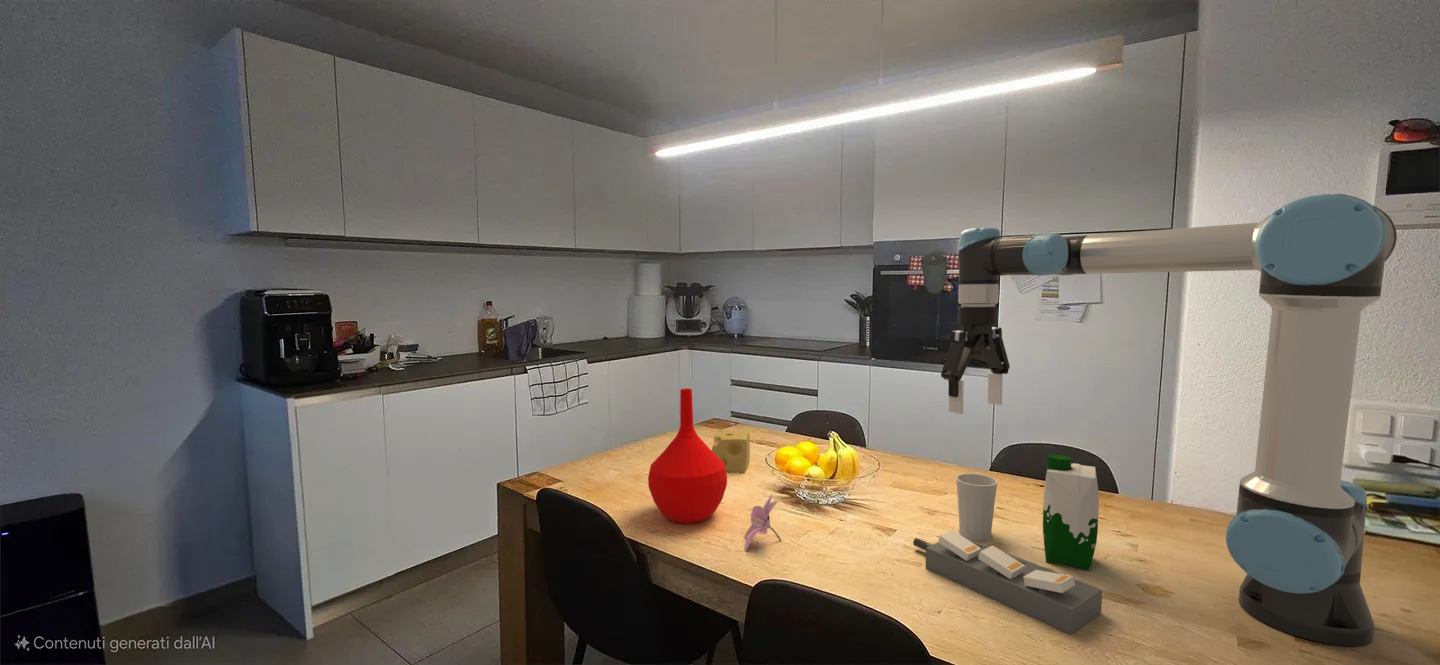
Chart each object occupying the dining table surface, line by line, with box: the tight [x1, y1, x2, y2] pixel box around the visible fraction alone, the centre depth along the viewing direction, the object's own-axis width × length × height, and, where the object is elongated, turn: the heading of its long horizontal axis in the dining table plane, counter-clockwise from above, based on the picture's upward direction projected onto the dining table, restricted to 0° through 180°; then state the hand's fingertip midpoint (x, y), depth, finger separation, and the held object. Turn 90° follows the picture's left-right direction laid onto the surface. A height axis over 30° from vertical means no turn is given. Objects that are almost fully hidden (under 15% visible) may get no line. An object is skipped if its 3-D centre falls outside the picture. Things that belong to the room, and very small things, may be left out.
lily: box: [743, 494, 782, 552], centre depth 123 cm, size 12×12×10 cm
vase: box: [647, 388, 728, 524], centre depth 136 cm, size 18×18×30 cm
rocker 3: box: [1023, 570, 1075, 593], centre depth 95 cm, size 6×4×2 cm, turn 34°
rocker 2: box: [978, 545, 1025, 579], centre depth 102 cm, size 6×4×2 cm, turn 35°
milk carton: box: [1042, 453, 1100, 572], centre depth 113 cm, size 9×9×20 cm
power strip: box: [912, 535, 1103, 636], centre depth 105 cm, size 32×10×4 cm, turn 35°
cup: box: [955, 472, 998, 542], centre depth 125 cm, size 8×8×12 cm
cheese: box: [711, 429, 751, 474], centre depth 172 cm, size 10×11×10 cm
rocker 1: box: [937, 529, 981, 561], centre depth 108 cm, size 6×4×2 cm, turn 35°
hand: (975, 408), depth 121 cm, fingers open, 13 cm apart
